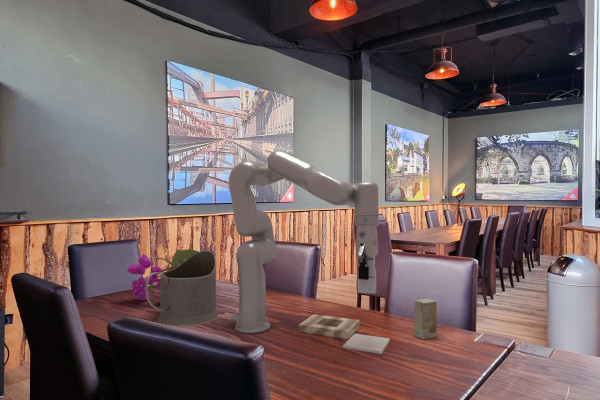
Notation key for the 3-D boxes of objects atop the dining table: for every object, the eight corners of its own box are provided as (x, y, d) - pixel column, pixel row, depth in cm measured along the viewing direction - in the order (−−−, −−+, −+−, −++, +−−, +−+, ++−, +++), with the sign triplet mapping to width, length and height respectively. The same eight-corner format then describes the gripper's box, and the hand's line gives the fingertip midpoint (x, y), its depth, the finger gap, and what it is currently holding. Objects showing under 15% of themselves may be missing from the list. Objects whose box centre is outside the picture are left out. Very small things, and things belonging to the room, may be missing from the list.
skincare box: (423, 340, 129) (423, 303, 129) (413, 336, 133) (413, 300, 133) (437, 337, 132) (437, 300, 132) (427, 333, 136) (427, 297, 136)
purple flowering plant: (208, 232, 194) (154, 251, 163) (226, 288, 195) (174, 316, 164) (167, 245, 208) (109, 264, 178) (183, 296, 209) (128, 324, 178)
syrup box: (376, 293, 122) (375, 247, 123) (357, 293, 124) (356, 246, 124) (376, 289, 128) (376, 245, 128) (358, 289, 129) (357, 244, 129)
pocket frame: (298, 331, 138) (298, 324, 138) (314, 320, 151) (314, 314, 151) (348, 339, 131) (348, 331, 131) (359, 326, 143) (359, 320, 143)
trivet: (343, 347, 123) (343, 345, 123) (354, 335, 134) (354, 333, 134) (381, 354, 118) (381, 351, 118) (390, 341, 129) (390, 338, 129)
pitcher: (230, 313, 161) (230, 252, 161) (168, 336, 134) (168, 263, 134) (189, 306, 173) (189, 248, 173) (125, 326, 145) (125, 258, 145)
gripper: (371, 222, 117) (371, 283, 117) (384, 220, 132) (384, 273, 132) (346, 222, 120) (347, 281, 120) (362, 219, 135) (362, 271, 135)
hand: (366, 276), depth 126 cm, fingers closed on syrup box, 6 cm apart
